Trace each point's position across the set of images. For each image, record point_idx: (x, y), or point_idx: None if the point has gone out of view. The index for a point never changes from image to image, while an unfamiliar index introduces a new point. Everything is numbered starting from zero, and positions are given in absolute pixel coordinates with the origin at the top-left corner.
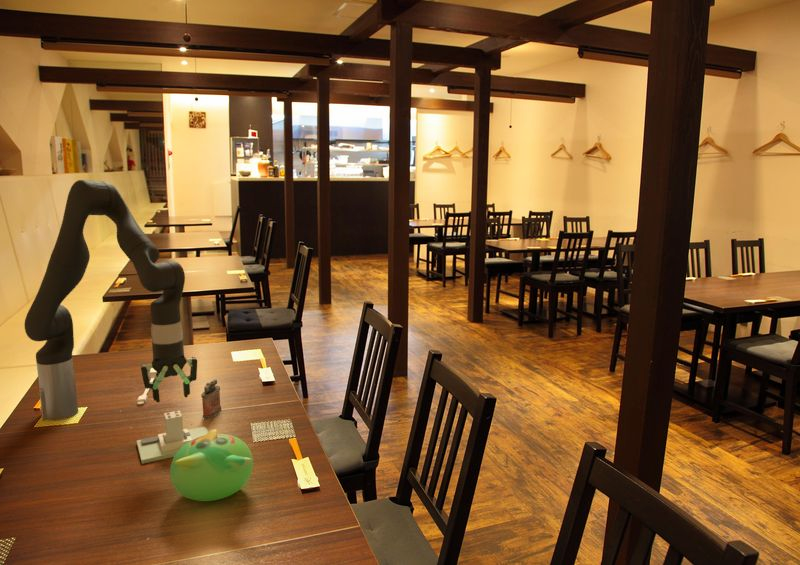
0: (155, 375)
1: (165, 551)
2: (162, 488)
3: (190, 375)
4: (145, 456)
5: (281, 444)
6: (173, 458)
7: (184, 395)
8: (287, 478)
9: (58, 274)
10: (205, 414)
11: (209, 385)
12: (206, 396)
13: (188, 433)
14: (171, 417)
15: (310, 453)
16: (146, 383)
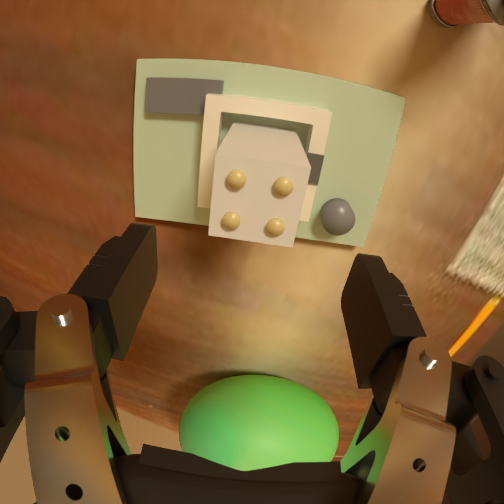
0: (33, 407)
1: (169, 424)
2: (177, 336)
3: (464, 405)
4: (147, 200)
5: (466, 311)
6: (184, 444)
7: (349, 283)
8: None
9: None
10: (443, 15)
11: None
12: (498, 20)
13: (317, 167)
14: (239, 231)
15: (461, 358)
16: (10, 397)
